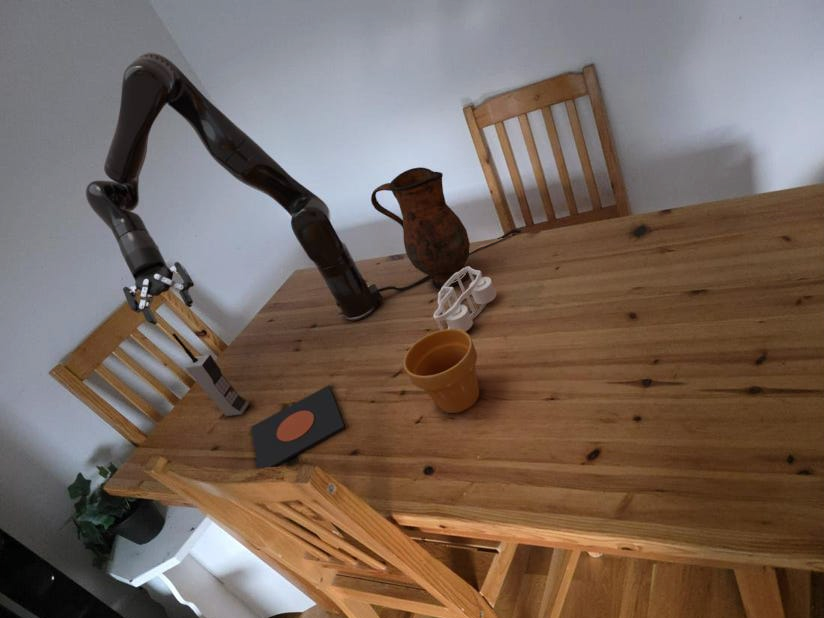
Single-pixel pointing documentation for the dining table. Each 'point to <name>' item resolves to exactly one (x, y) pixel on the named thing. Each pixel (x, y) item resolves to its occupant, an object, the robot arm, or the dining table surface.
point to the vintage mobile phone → (214, 383)
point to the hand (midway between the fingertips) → (172, 314)
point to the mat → (297, 428)
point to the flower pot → (445, 369)
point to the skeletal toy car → (459, 313)
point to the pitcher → (428, 225)
